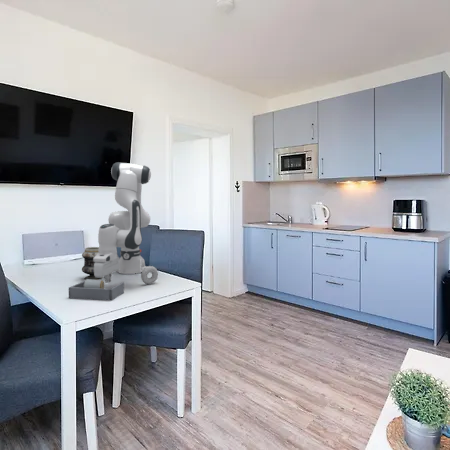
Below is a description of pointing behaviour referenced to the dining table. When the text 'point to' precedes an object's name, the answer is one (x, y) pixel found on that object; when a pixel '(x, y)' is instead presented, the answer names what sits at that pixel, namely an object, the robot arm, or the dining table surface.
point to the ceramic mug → (94, 284)
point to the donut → (145, 273)
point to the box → (95, 292)
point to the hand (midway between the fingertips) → (108, 282)
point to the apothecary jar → (89, 262)
